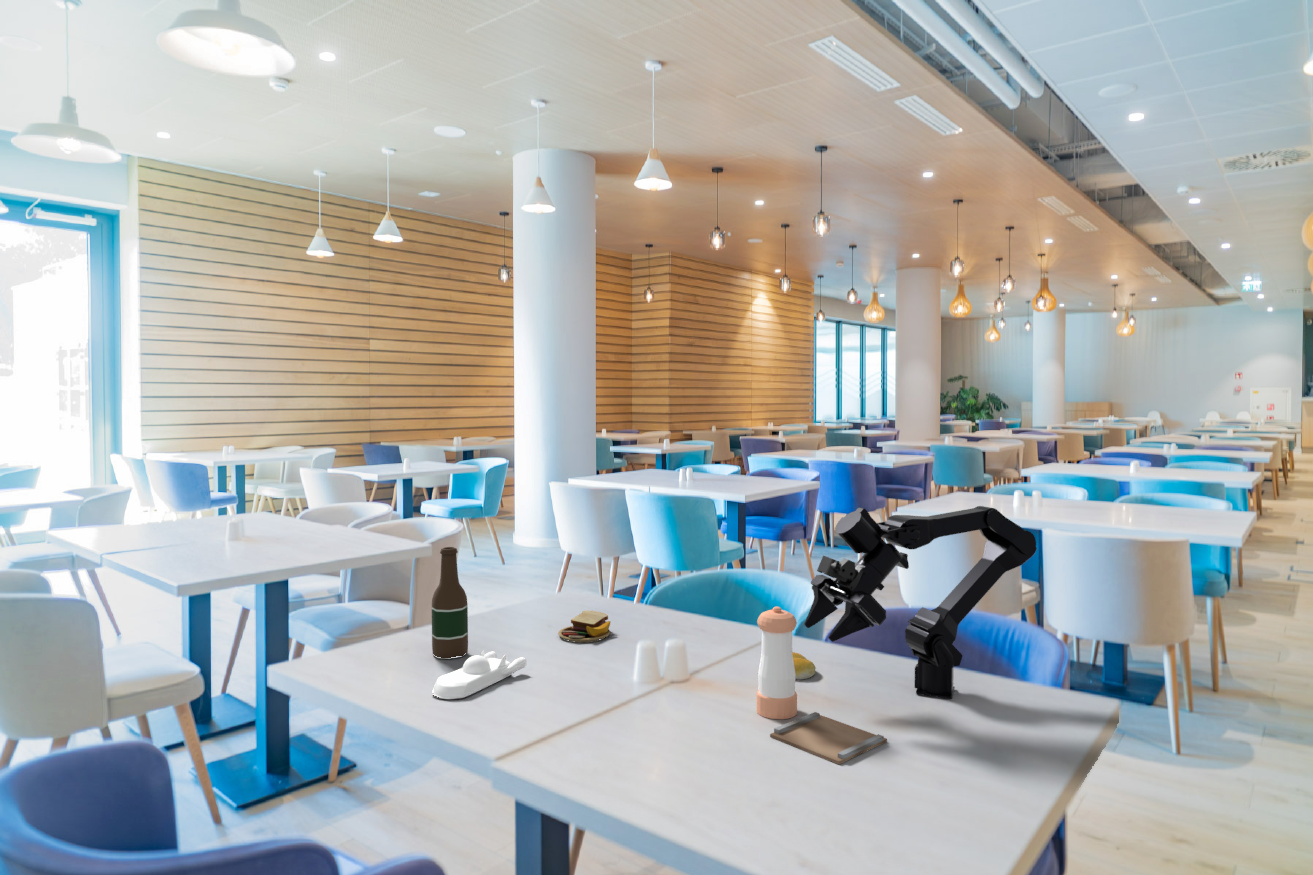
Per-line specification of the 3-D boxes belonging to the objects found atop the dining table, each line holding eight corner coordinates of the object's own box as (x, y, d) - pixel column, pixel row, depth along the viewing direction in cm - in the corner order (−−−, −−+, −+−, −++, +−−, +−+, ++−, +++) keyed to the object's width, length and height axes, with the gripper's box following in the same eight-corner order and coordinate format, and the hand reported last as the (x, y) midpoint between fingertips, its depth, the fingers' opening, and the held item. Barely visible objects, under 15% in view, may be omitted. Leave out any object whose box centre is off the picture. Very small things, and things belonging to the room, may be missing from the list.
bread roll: (785, 682, 164) (785, 663, 164) (768, 668, 172) (768, 650, 172) (823, 678, 166) (823, 659, 166) (804, 665, 175) (804, 646, 174)
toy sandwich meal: (547, 638, 196) (547, 618, 195) (585, 626, 206) (585, 607, 206) (586, 647, 188) (586, 627, 188) (623, 634, 199) (623, 615, 199)
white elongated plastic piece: (418, 695, 157) (418, 666, 157) (489, 666, 175) (488, 639, 174) (458, 705, 152) (458, 674, 152) (527, 674, 169) (526, 647, 169)
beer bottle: (475, 652, 183) (474, 546, 182) (449, 662, 177) (448, 552, 176) (451, 647, 188) (449, 543, 187) (424, 656, 181) (423, 548, 180)
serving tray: (818, 717, 145) (818, 710, 145) (887, 741, 134) (887, 734, 134) (770, 736, 137) (770, 729, 137) (838, 764, 126) (838, 756, 126)
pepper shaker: (804, 711, 148) (805, 606, 147) (782, 722, 143) (782, 614, 142) (771, 701, 153) (771, 600, 152) (748, 712, 148) (748, 607, 147)
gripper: (820, 533, 159) (768, 592, 157) (872, 549, 142) (814, 617, 139) (855, 571, 162) (804, 630, 159) (910, 591, 144) (854, 658, 141)
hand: (817, 632), depth 150 cm, fingers open, 9 cm apart
